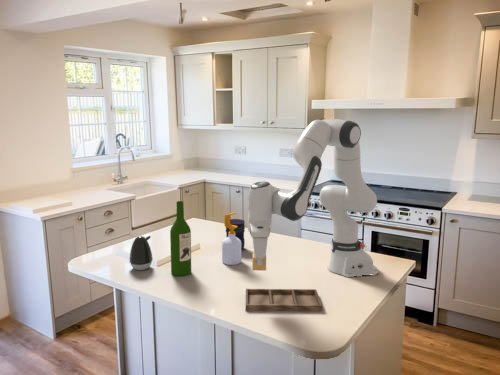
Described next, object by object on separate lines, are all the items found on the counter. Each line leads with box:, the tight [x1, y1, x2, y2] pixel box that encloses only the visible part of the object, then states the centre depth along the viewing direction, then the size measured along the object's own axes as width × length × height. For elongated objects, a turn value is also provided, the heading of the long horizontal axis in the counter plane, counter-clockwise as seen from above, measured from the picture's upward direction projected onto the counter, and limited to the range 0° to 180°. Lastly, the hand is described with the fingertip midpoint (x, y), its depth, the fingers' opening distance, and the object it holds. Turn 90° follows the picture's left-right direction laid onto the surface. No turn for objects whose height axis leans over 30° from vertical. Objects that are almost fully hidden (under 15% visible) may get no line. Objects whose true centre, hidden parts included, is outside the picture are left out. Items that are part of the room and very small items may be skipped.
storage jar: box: [225, 218, 246, 252], centre depth 218 cm, size 10×10×15 cm
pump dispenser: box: [129, 235, 154, 271], centre depth 190 cm, size 10×10×15 cm
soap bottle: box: [221, 211, 242, 266], centre depth 198 cm, size 9×9×25 cm
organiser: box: [245, 288, 323, 312], centre depth 159 cm, size 28×14×2 cm, turn 90°
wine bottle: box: [169, 200, 192, 278], centre depth 184 cm, size 9×9×32 cm
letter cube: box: [252, 252, 267, 271], centre depth 157 cm, size 5×5×5 cm
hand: (259, 261), depth 157 cm, fingers closed on letter cube, 5 cm apart
